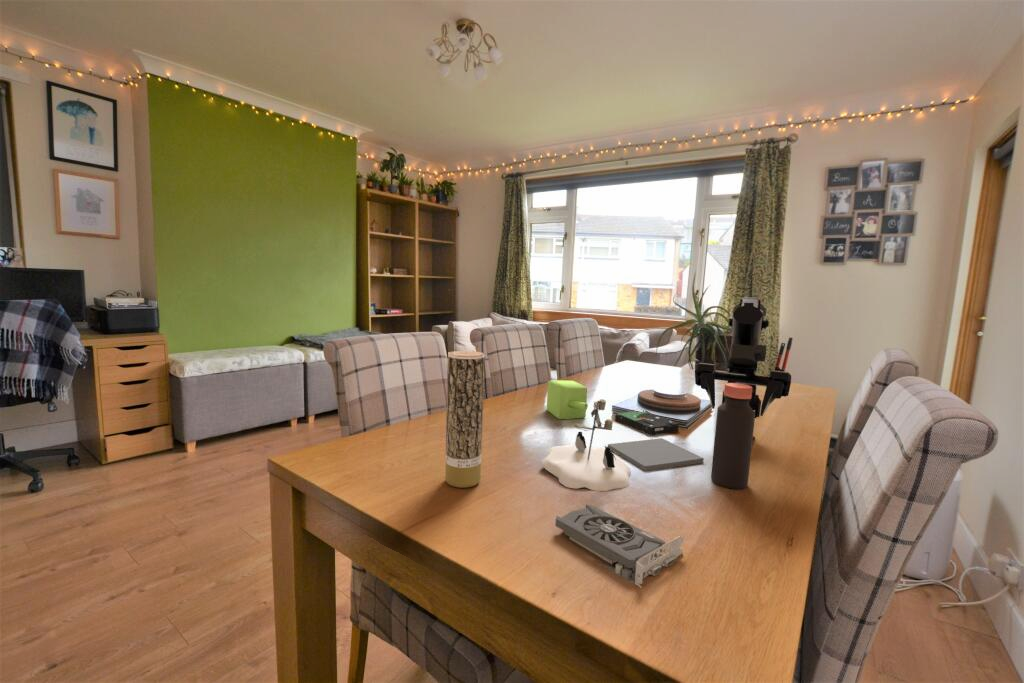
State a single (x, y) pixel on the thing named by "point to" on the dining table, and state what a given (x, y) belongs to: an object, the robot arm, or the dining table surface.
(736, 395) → the brown bottle
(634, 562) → the graphics card
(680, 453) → the mat
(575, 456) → the figurine
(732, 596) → the dining table surface
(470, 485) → the paper tube
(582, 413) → the gearbox
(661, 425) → the disk drive
